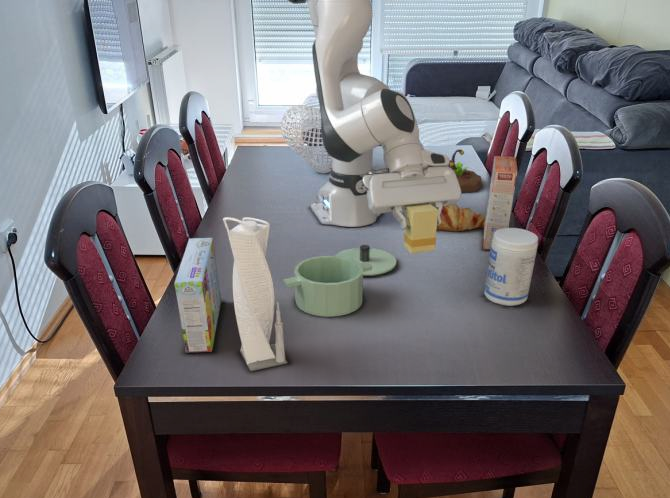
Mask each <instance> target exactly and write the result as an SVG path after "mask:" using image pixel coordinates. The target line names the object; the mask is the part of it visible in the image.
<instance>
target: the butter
mask: <svg viewBox="0 0 670 498" xmlns="http://www.w3.org/2000/svg"><path fill="white" fill-rule="evenodd" d="M437 216H438V210H437V209H436V208H435V207H434V206H432V205H431V204H423V205H414V206H406V210H405V216H404V217H405V218H406V219H408V218H409V220H410V224H411V227H410V228H409V229H405V230H404V232H403V247H404V249H406V250H407V251H408V252H409V253H410V254H417V253H425V252H426V253H427V252H433V251H434V252H435V251H436V244H437V230H438V229H437Z"/></svg>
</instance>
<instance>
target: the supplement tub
mask: <svg viewBox="0 0 670 498" xmlns="http://www.w3.org/2000/svg"><path fill="white" fill-rule="evenodd" d="M538 246H539V237H538V235H537V234H536V233H534V232H532V231H530V230H527V229H523V228H519V227H508V228H503V229H499V230H497V231H495V233H494V236H493V239H492V244H491V250H489V256H488V257H489V258H488V264H487V269H486V278H485V284H484V290H483V291H484V293H483V294H484V296H485V297H486V298H487V299H488V300H489V301H491V302H492V303H495V304H496V305H497V304H498V305H501V306H508V307H511V306H512V307H514V306H519V305H521V304H524V303H525V302H527V299H528V297H529V293H530V292H529V291H530V286H531V282H532V278H533V277H532V276H533V271H534V266H535V262H536V256H537V252H538V251H537V250H538Z"/></svg>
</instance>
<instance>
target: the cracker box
mask: <svg viewBox="0 0 670 498" xmlns="http://www.w3.org/2000/svg"><path fill="white" fill-rule="evenodd" d="M491 171H492V172H491V178H490V185H489V192H488V199H487V205H486V212H485V213H486V214H485V218H486V220H485V227H483V247H482V249H483V250H487V251H490V250H491V244H492V239H493V236H494V233H495V231H497V230H499V229H503V228H510V227H509V226H510V222H511V221H510V220H511V214H512V209H513V208H512V207H513V201H514V196H515V189H516V183H517V177H518V165H517V157H515V156H505V155H494V156H493V163H492V170H491Z"/></svg>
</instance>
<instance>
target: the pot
mask: <svg viewBox="0 0 670 498" xmlns="http://www.w3.org/2000/svg"><path fill="white" fill-rule="evenodd" d="M370 270H372V265H370V264H369V263H368V262H365V263H358V262H356V261H354V260H352V259H349V258H345V257H340V256H335V255H318V256H313V257H308V258H306V259H303V260H302V261H301V260H300V261H299V262H298V263H297V264H296V265H295V266H294V271H293V275H294V276H293V277H287V278H284V279H283V284H284V285H285V286H286V287H287V288H288V289H289V288H290V289H291V288H293V287H294V301H295V304H296V306H297V307H298V309H299V310H301V311H302V312H305V313H306V314H309V315H313V316H318V317H328V318H329V317H341V316H345V315H349V314H352V313H353V312H356V311H357V310H359V308H360V307H361V306H362V305H363V297H364V296H363V295H364V293H363V292H364V291H363V290H364V275H363V272H365V271H370Z"/></svg>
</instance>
